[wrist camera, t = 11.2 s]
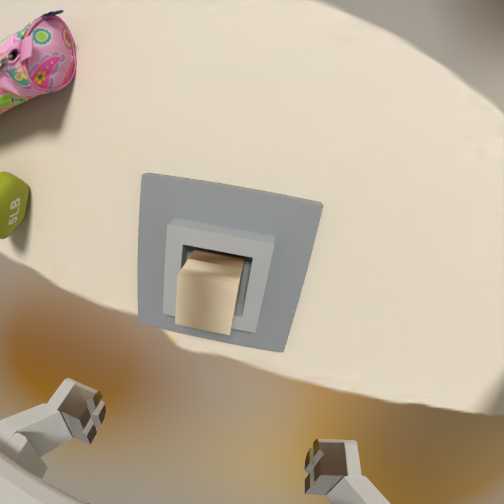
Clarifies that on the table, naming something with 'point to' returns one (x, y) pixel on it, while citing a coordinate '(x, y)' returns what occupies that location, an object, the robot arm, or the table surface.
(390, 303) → the table surface
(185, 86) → the table surface
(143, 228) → the socket board
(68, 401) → the robot arm
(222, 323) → the stack block
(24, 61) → the pencil case
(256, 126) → the table surface
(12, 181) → the dumbbell
